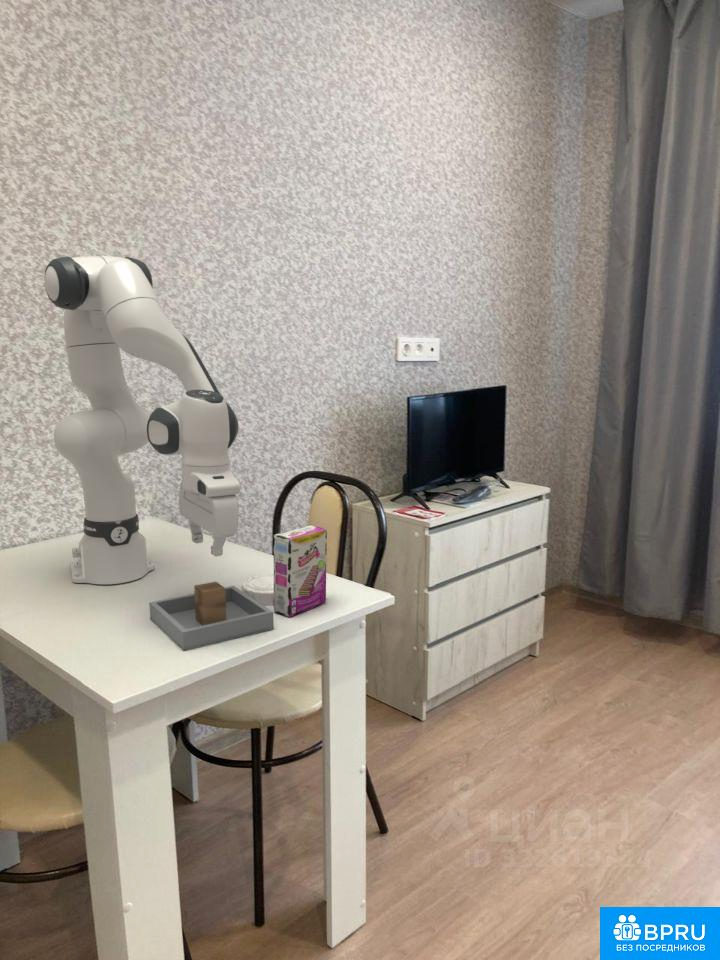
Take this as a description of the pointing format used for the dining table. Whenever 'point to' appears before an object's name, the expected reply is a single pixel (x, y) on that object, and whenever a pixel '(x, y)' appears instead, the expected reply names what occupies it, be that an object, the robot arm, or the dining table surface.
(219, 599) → the walnut block
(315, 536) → the candy bar box
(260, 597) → the mooncake
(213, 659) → the dining table surface
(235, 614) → the tray
